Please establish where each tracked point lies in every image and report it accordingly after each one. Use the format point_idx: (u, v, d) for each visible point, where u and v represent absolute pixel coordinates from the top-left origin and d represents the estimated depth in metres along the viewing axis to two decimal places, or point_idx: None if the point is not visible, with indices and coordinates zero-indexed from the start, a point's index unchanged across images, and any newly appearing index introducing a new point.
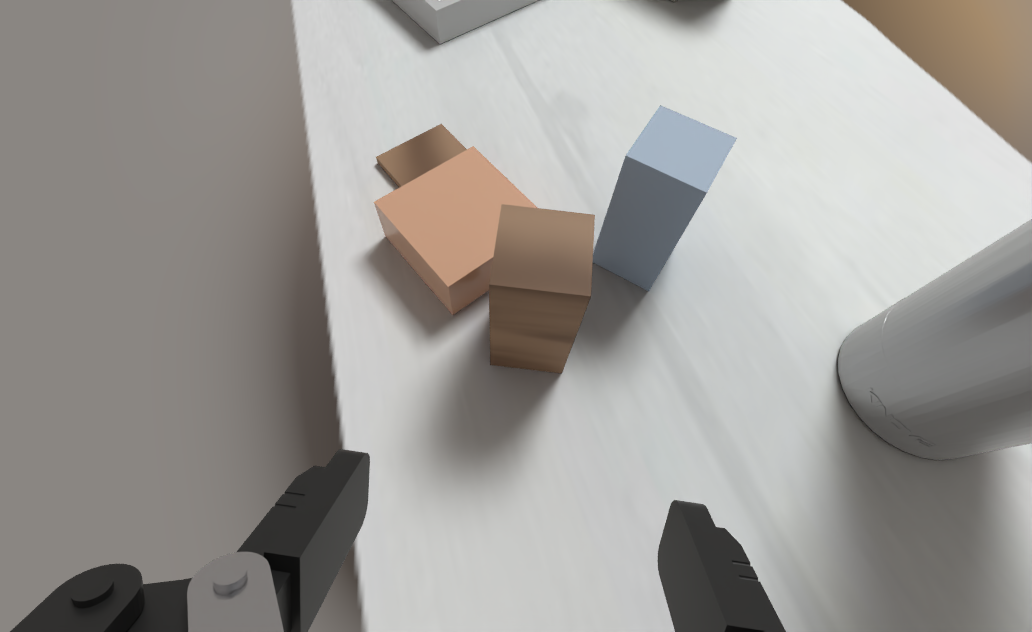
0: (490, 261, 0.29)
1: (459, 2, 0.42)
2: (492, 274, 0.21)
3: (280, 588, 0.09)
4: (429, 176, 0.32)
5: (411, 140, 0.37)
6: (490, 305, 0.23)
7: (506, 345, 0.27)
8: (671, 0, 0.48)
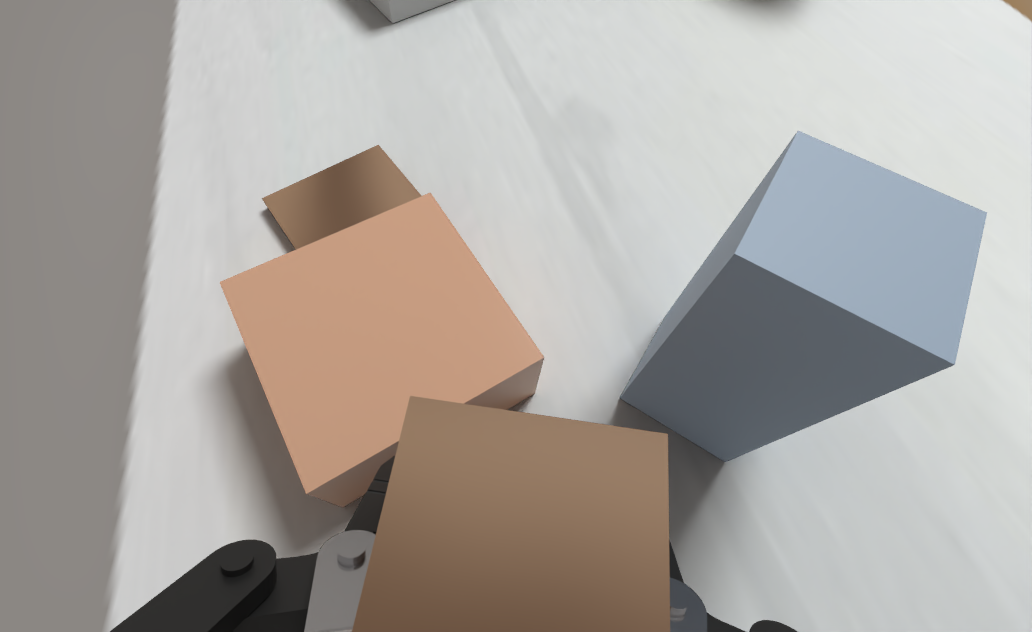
0: None
1: None
2: None
3: None
4: (336, 242, 0.17)
5: (325, 171, 0.23)
6: None
7: None
8: None
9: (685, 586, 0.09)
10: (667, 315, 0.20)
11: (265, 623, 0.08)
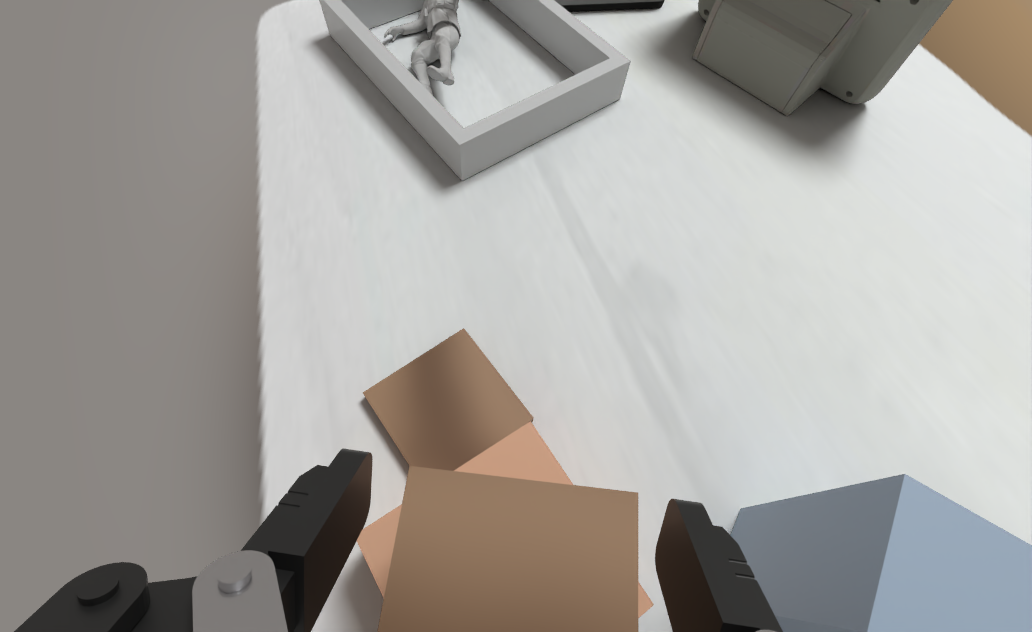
0: None
1: (493, 129, 0.29)
2: None
3: (284, 587, 0.09)
4: None
5: (418, 360, 0.24)
6: None
7: None
8: (784, 113, 0.35)
9: None
10: (745, 519, 0.21)
11: None
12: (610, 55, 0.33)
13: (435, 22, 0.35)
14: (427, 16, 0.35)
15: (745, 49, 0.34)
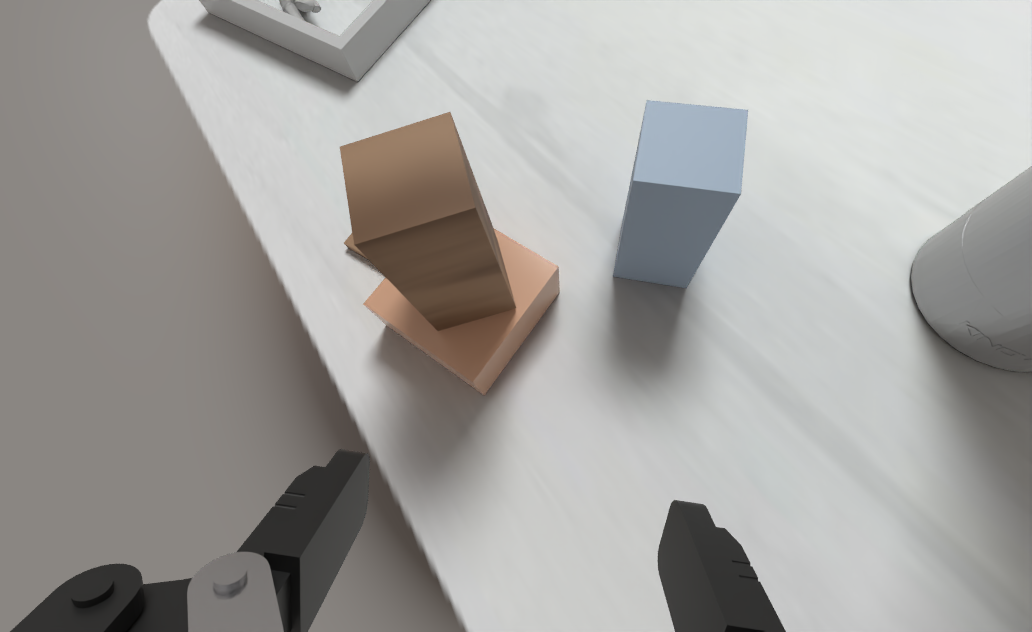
0: (508, 336, 0.26)
1: (361, 28, 0.36)
2: (354, 231, 0.17)
3: (280, 588, 0.09)
4: None
5: None
6: (378, 268, 0.19)
7: (434, 303, 0.23)
8: None
9: None
10: (623, 216, 0.31)
11: None
12: None
13: None
14: None
15: None
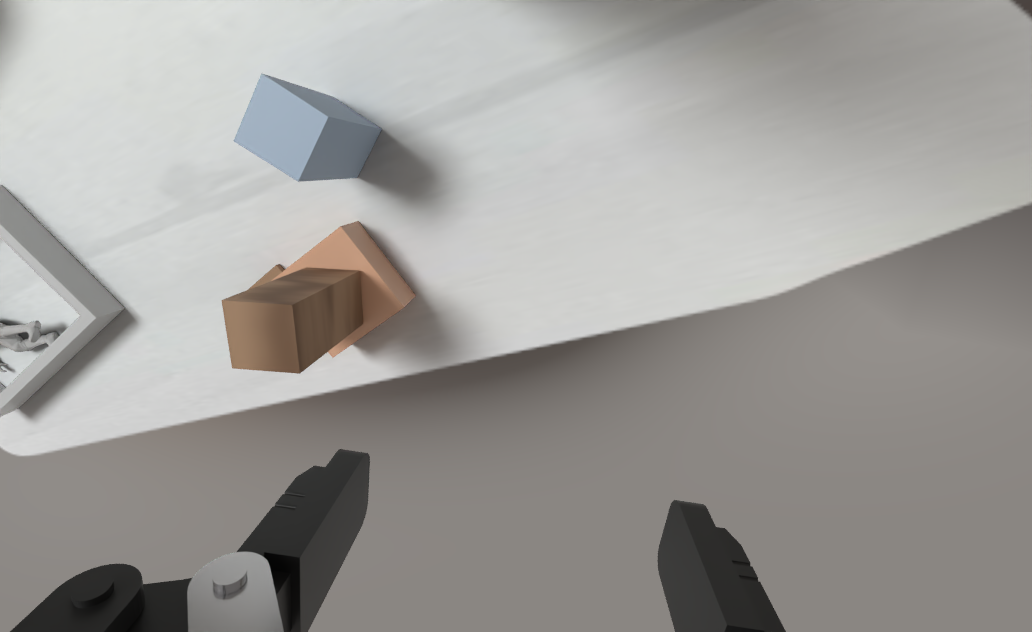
0: (380, 275, 0.39)
1: (75, 295, 0.41)
2: (291, 371, 0.30)
3: (280, 588, 0.09)
4: None
5: None
6: (315, 360, 0.32)
7: (344, 326, 0.36)
8: None
9: None
10: None
11: None
12: None
13: None
14: None
15: None
